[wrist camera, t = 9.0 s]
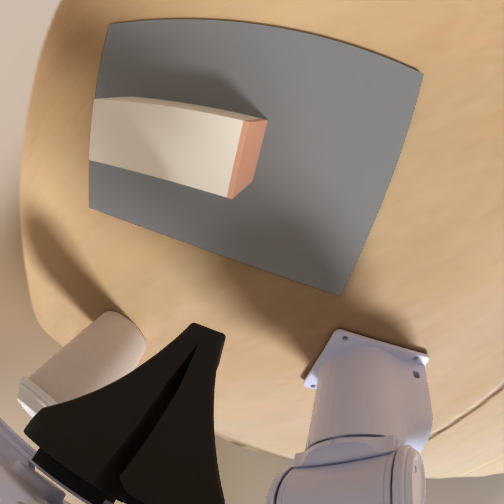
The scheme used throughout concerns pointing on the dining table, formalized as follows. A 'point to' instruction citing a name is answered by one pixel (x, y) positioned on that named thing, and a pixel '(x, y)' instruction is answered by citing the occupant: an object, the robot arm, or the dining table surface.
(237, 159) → the block
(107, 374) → the coffee cup
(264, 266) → the mat
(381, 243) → the dining table surface
